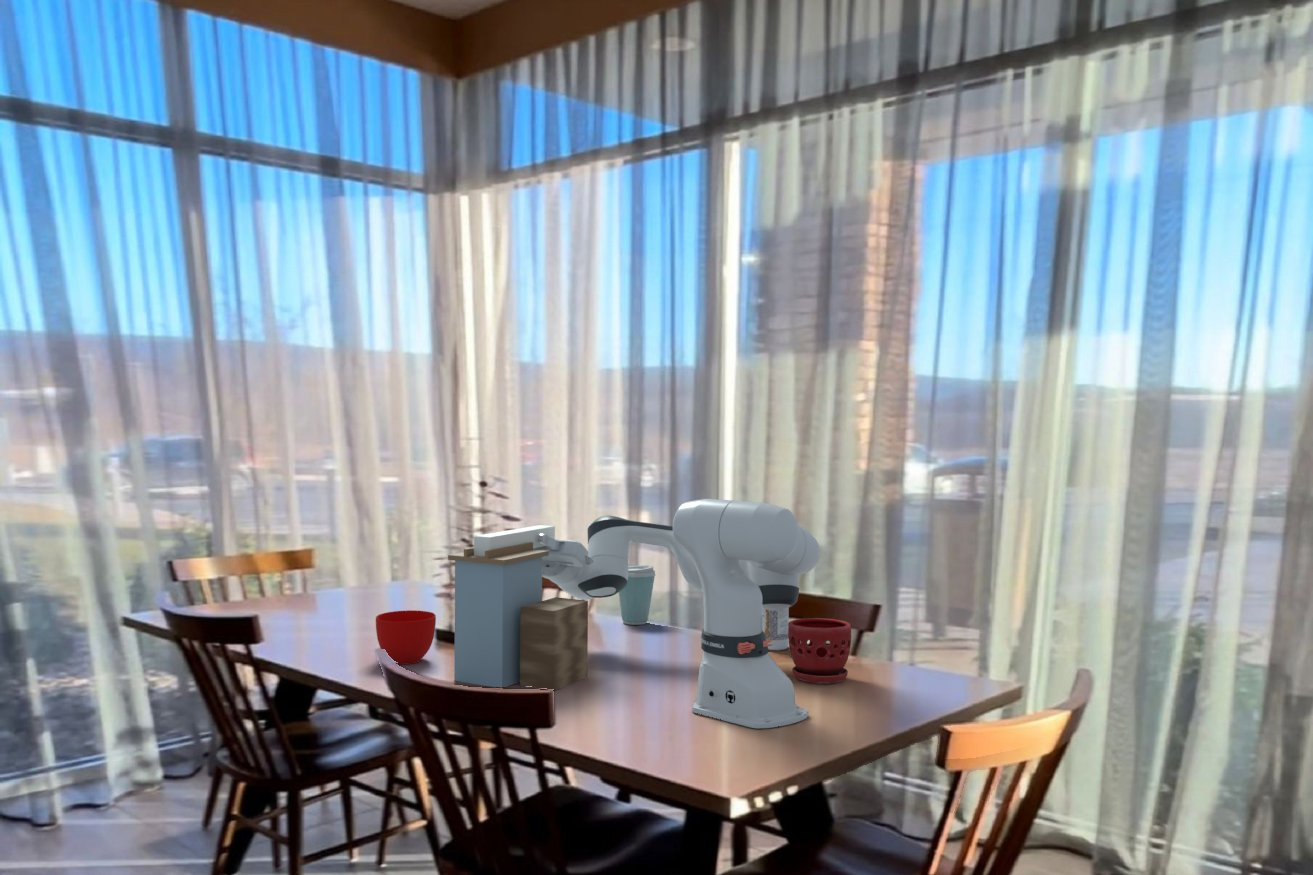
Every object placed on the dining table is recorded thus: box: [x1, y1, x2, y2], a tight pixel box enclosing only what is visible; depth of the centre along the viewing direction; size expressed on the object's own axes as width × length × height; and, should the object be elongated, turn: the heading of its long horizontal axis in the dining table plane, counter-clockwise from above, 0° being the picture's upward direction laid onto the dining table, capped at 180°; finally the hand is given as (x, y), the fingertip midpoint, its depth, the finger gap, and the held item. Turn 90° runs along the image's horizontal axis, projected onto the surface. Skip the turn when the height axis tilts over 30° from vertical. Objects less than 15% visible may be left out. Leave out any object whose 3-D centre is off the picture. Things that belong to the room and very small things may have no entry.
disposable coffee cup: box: [617, 565, 656, 626], centre depth 269 cm, size 11×11×15 cm
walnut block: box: [519, 596, 589, 691], centre depth 209 cm, size 13×8×16 cm, turn 152°
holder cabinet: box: [447, 542, 549, 688], centre depth 212 cm, size 16×14×28 cm
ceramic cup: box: [375, 609, 437, 665], centre depth 227 cm, size 13×17×10 cm
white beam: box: [473, 524, 556, 557], centre depth 217 cm, size 24×4×4 cm, turn 152°
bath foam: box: [762, 607, 790, 651], centre depth 241 cm, size 7×7×20 cm
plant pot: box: [788, 617, 852, 685], centre depth 214 cm, size 13×13×12 cm
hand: (527, 536), depth 221 cm, fingers open, 5 cm apart
